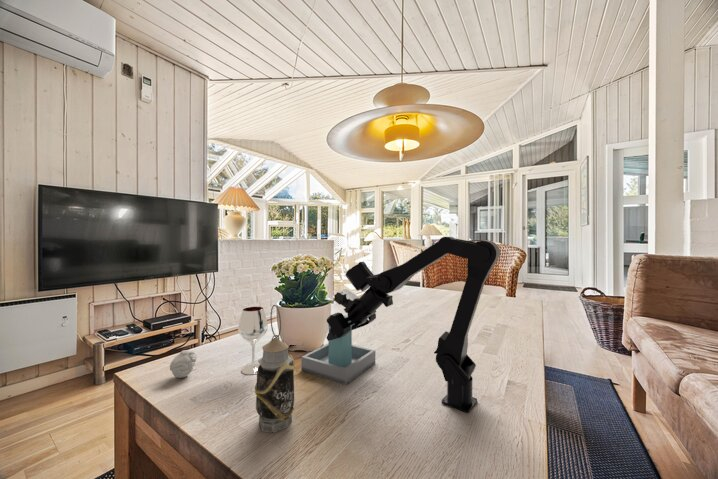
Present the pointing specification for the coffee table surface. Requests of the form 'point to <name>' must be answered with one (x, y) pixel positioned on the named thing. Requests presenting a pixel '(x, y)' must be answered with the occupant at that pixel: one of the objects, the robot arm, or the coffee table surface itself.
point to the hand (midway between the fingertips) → (336, 334)
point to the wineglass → (252, 332)
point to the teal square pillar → (341, 349)
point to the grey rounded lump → (183, 363)
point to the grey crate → (319, 365)
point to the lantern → (275, 385)
